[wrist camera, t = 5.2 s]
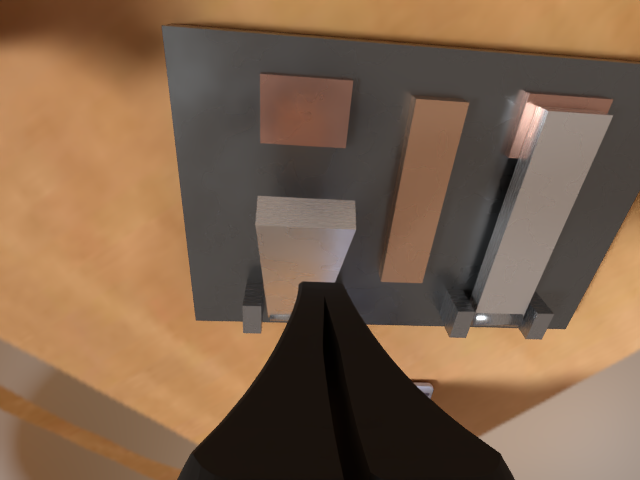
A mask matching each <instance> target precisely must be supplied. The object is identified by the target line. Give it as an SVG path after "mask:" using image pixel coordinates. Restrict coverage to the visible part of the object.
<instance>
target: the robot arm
mask: <svg viewBox="0 0 640 480" xmlns="http://www.w3.org/2000/svg"><path fill="white" fill-rule="evenodd" d="M432 393H433V386H432V384H430V383H417V382H412V381H411V380H410V379H409V378H408V377H407V376H406V375H405V373H404V372H403V371H402V370H401V369H400V368H399V367H398V366H397V365H396V363H395V362H394V361H393V360H392V359H391V357H390V356H389V355H388V354H387V352H386V351H385V350H384V349H383V347H382V346H381V345H380V343H379V342H378V341H377V339H376V338H375V337H374V335H373V334H372V332H371V331H370V329H369V328H368V326H367V325H366V323H365V322H364V320H363V319H362V317H361V316H360V314H359V312H358V311H357V309H356V307H355V306H354V304H353V302H352V300H351V299H350V297H349V295H348V293H347V291H346V289H345V287H344V285H343V284H342V283H334V282H307V281H302V282H301V283H299V285H298V294H297V298H296V302H295V305H294V308H293V311H292V313H291V315H290V318H289V320H288V323H287V325H286V327H285V329H284V331H283V333H282V335H281V337H280V339H279V341H278V343H277V345H276V347H275V349H274V351H273V352H272V354H271V356H270V357H269V359H268V361H267V362H266V364H265V366H264V367H263V369H262V370H261V372H260V373H259V375H258V376H257V377H256V379H255V380H254V382H253V383H252V385H251V386H250V387H249V389H248V390H247V391H246V393H245V394H244V395H243V397H242V398H241V399H240V400H239V401H238V403H237V404H236V405H235V406H234V407H233V409H232V410H231V411H230V412H229V413H228V415H227V416H226V417H225V418H224V419H223V420H222V422H221V423H220V424H219V425H218V426H217V427H216V428H215V429H214V430H213V431H212V432H211V433H210V434H209V435H208V436H207V437H206V438H205V439H204V440H203V441H202V442H201V443H200V444H199V445H198V446H197V447H196V449H195V450H194V451H193V452H192V453H191V454H190V456H189V458H188V460H187V462H186V464H185V465H184V467H183V469H182V471H181V473H180V475H179V477H178V479H177V480H515V479H514V477H513V475H512V473H511V471H510V470H509V468H508V466H507V465H506V463H505V461H504V460H503V458H502V456H501V454H500V453H499V452H497V451H496V450H495V449H493V448H492V447H490V446H489V445H488V444H486V443H485V442H483V441H482V440H481V439H479V438H478V437H476V436H475V435H474V434H472V433H471V432H470V431H468V430H467V429H465V428H464V427H463V426H461V425H460V424H459V423H458V422H457V421H455V420H454V419H453V418H452V417H450V416H449V415H448V414H447V413H445V412H444V411H443V410H442V409H441V408H440V407H439V406H437V405H436V404H435V403H434V402H433V401H432V400H431V396H432Z"/></svg>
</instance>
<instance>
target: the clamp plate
mask: <svg viewBox="0 0 640 480" xmlns="http://www.w3.org/2000/svg"><path fill="white" fill-rule="evenodd" d="M162 33H163V42H164V50H165V59H166V67H167V76H168V85H169V93H170V102H171V110H172V119H173V128H174V136H175V145H176V153H177V162H178V171H179V179H180V188H181V197H182V205H183V214H184V222H185V231H186V240H187V248H188V257H189V265H190V274H191V283H192V291H193V300H194V308H195V317H196V320H199V321H242V322H243V333H261V331H262V322H285V323H288V321H270V317H268V312H267V305H266V298H265V290H264V283H263V276H262V269H261V262H260V255H259V248H258V241H257V234H256V227H255V223H256V211H257V198H258V196H271V197H292V198H313V199H334V200H354V201H355V212H356V231H355V234H354V236H353V239H352V241H351V244H350V246H349V249H348V251H347V254H346V256H345V259H344V261H343V264H342V266H341V269H340V271H339V274H338V276H337V278H336V281H335V283H342V284H343V285H344V287H345V289H346V291H347V293H348V295H349V297H350V299H351V300H352V302H353V304H354V306H355V307H356V309H357V311H358V312H359V314H360V316H361V317H362V319H363V320H364V322H365V323H366V324H370V325H413V326H445V329H446V331H447V333H448V335H449V337H455V338H466V336H467V333H468V331H469V328H470V327H498V328H519V330H520V331H521V333H522V334H523V336H524V337H525V339H542V338H543V336H544V334H545V332H546V330H547V329H566V327H567V325H568V323H569V322H570V320H571V318H572V316H573V314H574V312H575V310H576V309H577V307H578V305H579V303H580V301H581V299H582V297H583V295H584V294H585V292H586V290H587V288H588V286H589V284H590V282H591V281H592V279H593V277H594V275H595V273H596V271H597V269H598V267H599V266H600V264H601V262H602V260H603V258H604V256H605V254H606V252H607V251H608V249H609V247H610V245H611V243H612V241H613V239H614V238H615V236H616V234H617V232H618V230H619V228H620V226H621V224H622V223H623V221H624V219H625V217H626V215H627V213H628V211H629V209H630V208H631V206H632V204H633V202H634V200H635V198H636V196H637V195H638V193H639V191H640V61H627V60H615V59H603V58H590V57H578V56H565V55H553V54H541V53H528V52H516V51H504V50H491V49H479V48H466V47H454V46H442V45H429V44H417V43H405V42H392V41H380V40H367V39H355V38H343V37H330V36H318V35H306V34H293V33H281V32H268V31H256V30H244V29H231V28H219V27H207V26H194V25H182V24H167V25H162ZM536 106H547V107H561V108H575V109H590V110H600V111H602V112H605V113H608V114H611V115H613V117H612V120H611V122H610V124H609V126H608V128H607V131H606V133H605V135H604V137H603V140H602V142H601V144H600V146H599V149H598V151H597V153H596V155H595V158H594V160H593V162H592V164H591V167H590V169H589V171H588V173H587V176H586V178H585V180H584V182H583V184H582V187H581V189H580V191H579V193H578V196H577V198H576V200H575V202H574V205H573V207H572V209H571V211H570V214H569V216H568V218H567V220H566V223H565V225H564V227H563V229H562V231H561V234H560V236H559V238H558V240H557V243H556V245H555V247H554V249H553V252H552V254H551V256H550V258H549V261H548V263H547V265H546V267H545V270H544V272H543V274H542V276H541V278H540V281H539V283H538V285H537V287H536V290H535V292H534V294H533V296H532V299H531V301H530V303H529V305H528V308H527V310H526V312H525V314H524V317H523V321H522V323H521V325H520V326H518V327H513V326H472V325H471V322H472V320H473V317H474V314H475V311H474V309H473V307H472V305H471V304H470V302H469V300H470V298H471V295H472V292H473V289H474V286H475V283H476V280H477V277H478V274H479V271H480V269H481V266H482V263H483V260H484V257H485V254H486V251H487V248H488V245H489V242H490V240H491V237H492V234H493V231H494V228H495V225H496V222H497V219H498V216H499V213H500V211H501V208H502V205H503V202H504V199H505V196H506V193H507V190H508V187H509V184H510V182H511V179H512V176H513V173H514V170H515V167H516V164H517V161H518V158H519V155H520V153H521V150H522V147H523V144H524V141H525V138H526V135H527V132H528V129H529V126H530V124H531V121H532V118H533V115H534V112H535V109H536Z"/></svg>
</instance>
